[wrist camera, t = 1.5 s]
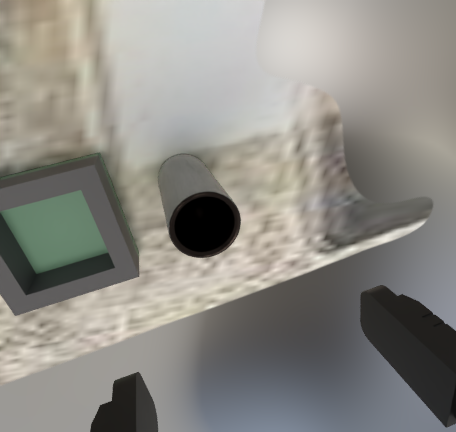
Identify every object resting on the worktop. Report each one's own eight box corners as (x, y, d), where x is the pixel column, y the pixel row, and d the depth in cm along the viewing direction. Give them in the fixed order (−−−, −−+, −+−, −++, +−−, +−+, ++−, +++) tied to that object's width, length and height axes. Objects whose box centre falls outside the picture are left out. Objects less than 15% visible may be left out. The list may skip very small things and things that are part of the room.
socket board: (-32, 185, 24) (-61, 204, 20) (99, 152, 25) (94, 164, 22) (30, 286, 28) (15, 315, 25) (138, 253, 30) (139, 276, 26)
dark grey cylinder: (191, 143, 27) (219, 177, 18) (216, 185, 29) (253, 233, 20) (147, 171, 27) (153, 218, 18) (175, 210, 29) (193, 271, 20)
